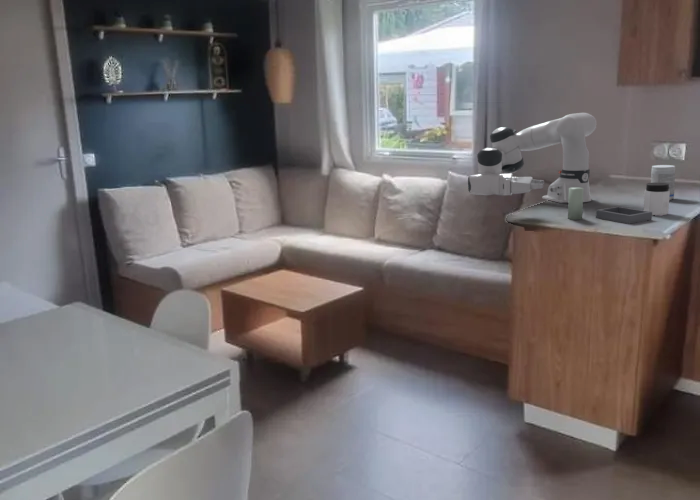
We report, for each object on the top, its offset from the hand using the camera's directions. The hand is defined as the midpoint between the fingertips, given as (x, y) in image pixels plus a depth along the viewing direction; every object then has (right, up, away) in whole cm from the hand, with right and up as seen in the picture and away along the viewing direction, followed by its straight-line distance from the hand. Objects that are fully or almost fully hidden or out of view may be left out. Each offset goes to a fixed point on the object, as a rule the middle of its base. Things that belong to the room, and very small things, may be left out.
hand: (543, 184), depth 258 cm
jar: (+45, -12, +1) cm, 46 cm away
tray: (+29, -14, -6) cm, 33 cm away
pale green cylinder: (+12, -14, -1) cm, 18 cm away
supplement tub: (+62, -4, +32) cm, 70 cm away
